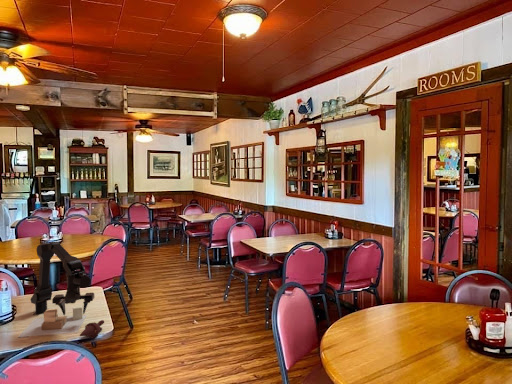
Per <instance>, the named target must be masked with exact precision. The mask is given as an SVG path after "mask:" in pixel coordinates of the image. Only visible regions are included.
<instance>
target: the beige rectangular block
mask: <svg viewBox="0 0 512 384" xmlns="http://www.w3.org/2000/svg"><path fill="white" fill-rule="evenodd" d="M83 307H84V304H77V305H73V307H72V316H73V320H76V319H83V315H84V314H83Z"/></svg>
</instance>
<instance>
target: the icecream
mask: <svg viewBox="0 0 512 384" xmlns="http://www.w3.org/2000/svg"><path fill="white" fill-rule="evenodd" d="M104 324H105V320H103V319H102V320H99V321H98V322H89V323H88V324H86V325H85V326H84V327H85V328H84V330H83V331H81V333H80V334H79V336H80V337H89V338H92V339H94V338H95V337H96V336H98V335H100V334H99V333H100V332H101V331H103V327H101V326H103V325H104Z"/></svg>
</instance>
